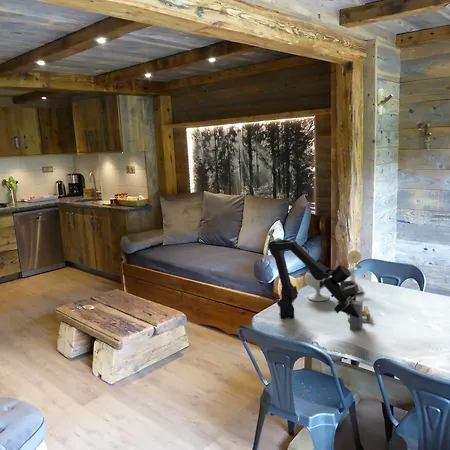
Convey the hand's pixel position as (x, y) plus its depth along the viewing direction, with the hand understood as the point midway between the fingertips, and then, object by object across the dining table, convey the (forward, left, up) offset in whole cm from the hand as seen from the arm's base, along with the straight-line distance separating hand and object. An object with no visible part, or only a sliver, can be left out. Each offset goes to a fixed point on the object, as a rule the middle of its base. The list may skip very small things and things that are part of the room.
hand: (359, 315), depth 196 cm
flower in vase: (+12, +47, -7) cm, 49 cm away
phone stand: (+4, +32, -7) cm, 33 cm away
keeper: (+3, +13, -7) cm, 15 cm away
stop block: (-1, +1, -7) cm, 7 cm away
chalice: (-9, +42, -7) cm, 43 cm away
